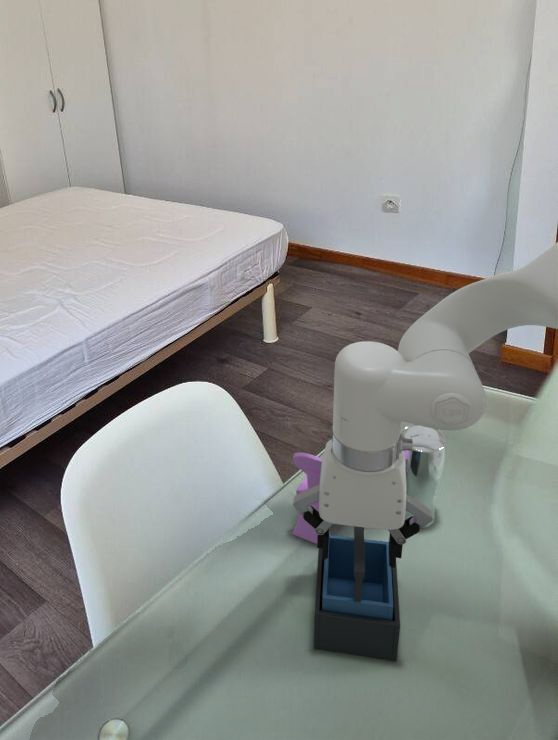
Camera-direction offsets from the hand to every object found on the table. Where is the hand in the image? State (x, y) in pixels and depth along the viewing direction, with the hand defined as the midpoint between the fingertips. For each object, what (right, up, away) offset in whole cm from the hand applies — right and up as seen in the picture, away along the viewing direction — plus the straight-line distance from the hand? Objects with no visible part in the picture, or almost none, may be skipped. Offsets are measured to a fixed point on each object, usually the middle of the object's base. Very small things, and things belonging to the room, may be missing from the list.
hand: (358, 554), depth 87 cm
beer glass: (+14, -2, +20) cm, 25 cm away
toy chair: (-1, -3, +20) cm, 20 cm away
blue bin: (+1, -9, +5) cm, 10 cm away
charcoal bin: (+1, -10, +5) cm, 11 cm away
